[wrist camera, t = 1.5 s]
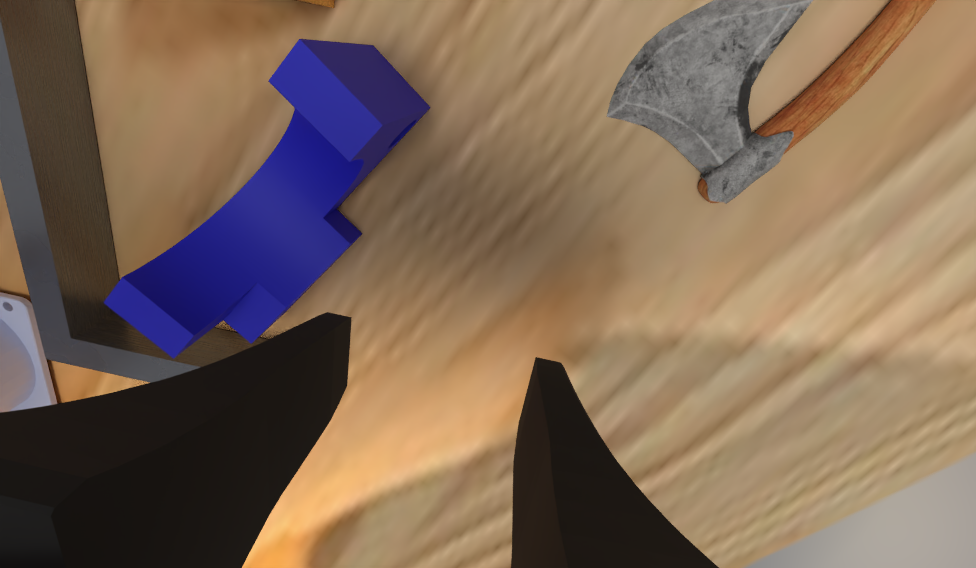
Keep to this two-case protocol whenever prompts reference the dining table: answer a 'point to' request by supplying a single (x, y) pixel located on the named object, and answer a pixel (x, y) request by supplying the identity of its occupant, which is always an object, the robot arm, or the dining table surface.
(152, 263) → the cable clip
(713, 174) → the axe
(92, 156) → the keeper cradle
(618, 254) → the dining table surface
